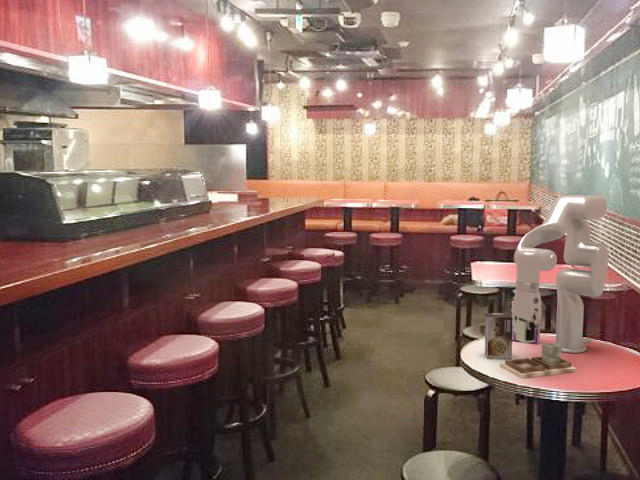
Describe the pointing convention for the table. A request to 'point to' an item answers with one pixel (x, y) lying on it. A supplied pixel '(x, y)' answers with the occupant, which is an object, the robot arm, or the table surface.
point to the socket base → (540, 363)
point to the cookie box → (498, 335)
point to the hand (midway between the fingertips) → (525, 337)
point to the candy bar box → (537, 330)
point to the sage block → (522, 331)
